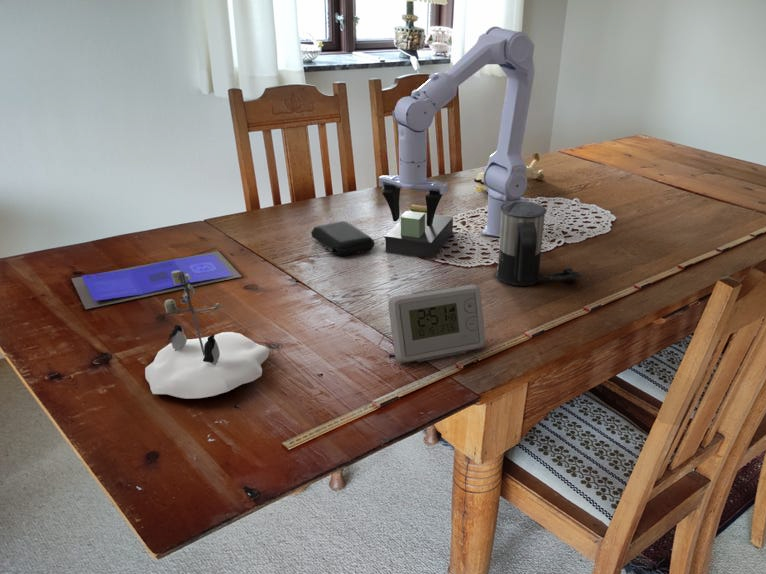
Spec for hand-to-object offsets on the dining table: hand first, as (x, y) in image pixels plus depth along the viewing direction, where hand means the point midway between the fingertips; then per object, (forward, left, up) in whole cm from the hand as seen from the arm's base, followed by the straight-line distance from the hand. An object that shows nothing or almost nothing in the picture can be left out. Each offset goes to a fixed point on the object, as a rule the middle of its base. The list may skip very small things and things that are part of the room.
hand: (412, 222), depth 149 cm
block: (0, 0, -3) cm, 3 cm away
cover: (0, -5, -3) cm, 6 cm away
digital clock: (-18, +40, -7) cm, 44 cm away
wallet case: (0, -5, -6) cm, 8 cm away
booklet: (+42, +31, -7) cm, 53 cm away
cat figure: (-10, -54, -7) cm, 55 cm away
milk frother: (-29, +6, -7) cm, 30 cm away
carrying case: (+16, +3, -7) cm, 18 cm away
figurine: (+14, +57, -7) cm, 59 cm away
